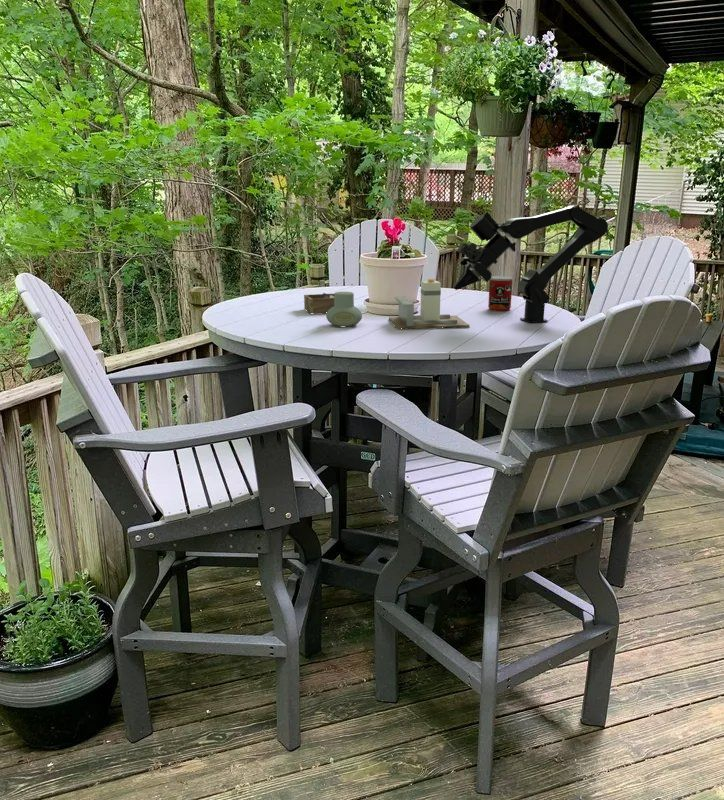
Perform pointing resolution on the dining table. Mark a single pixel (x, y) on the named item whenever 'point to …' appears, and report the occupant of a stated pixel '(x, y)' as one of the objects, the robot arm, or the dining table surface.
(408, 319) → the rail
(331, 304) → the brown wooden box
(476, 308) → the dining table surface
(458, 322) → the board
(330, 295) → the eagle figurine
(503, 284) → the canned food
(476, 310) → the dining table surface
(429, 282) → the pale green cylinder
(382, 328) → the dining table surface
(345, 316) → the air freshener
